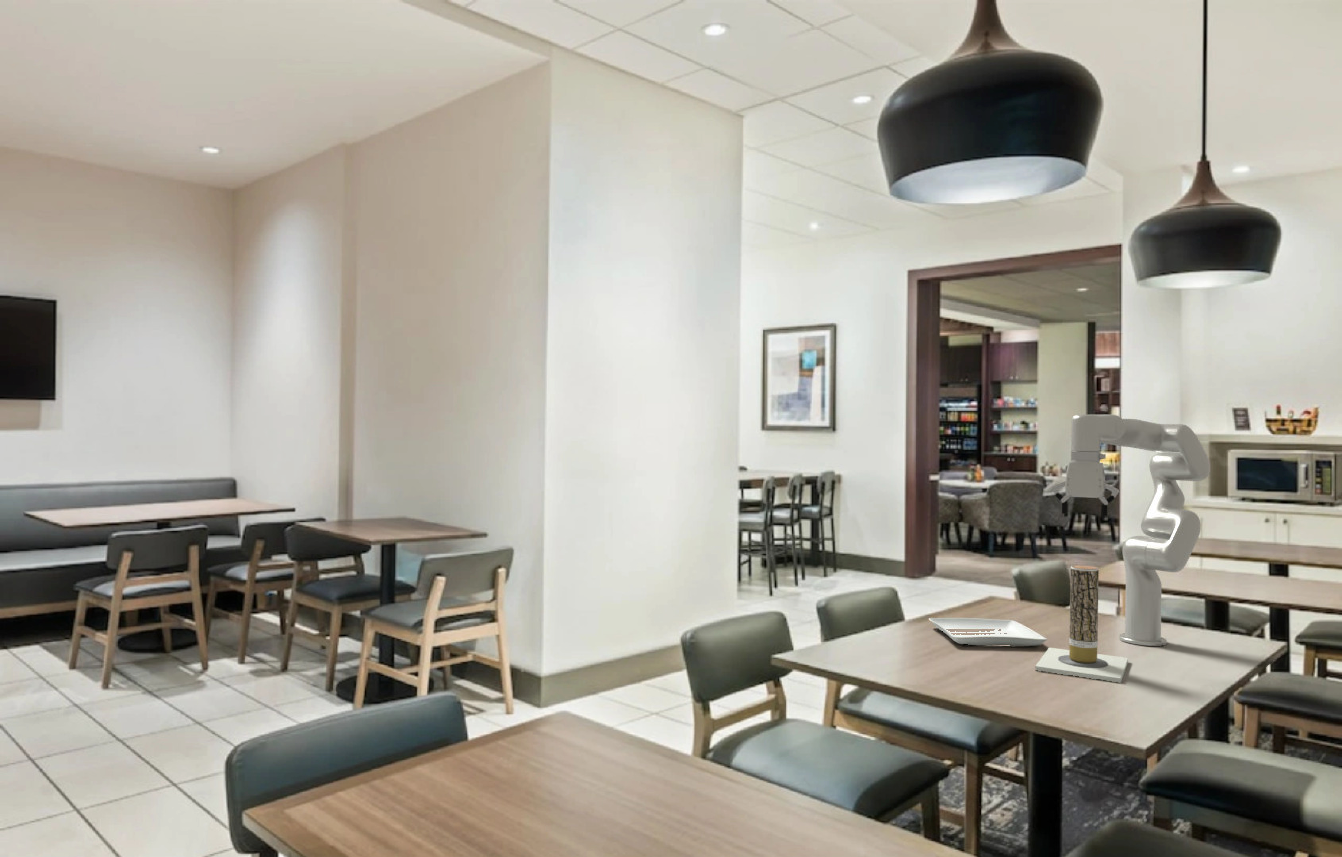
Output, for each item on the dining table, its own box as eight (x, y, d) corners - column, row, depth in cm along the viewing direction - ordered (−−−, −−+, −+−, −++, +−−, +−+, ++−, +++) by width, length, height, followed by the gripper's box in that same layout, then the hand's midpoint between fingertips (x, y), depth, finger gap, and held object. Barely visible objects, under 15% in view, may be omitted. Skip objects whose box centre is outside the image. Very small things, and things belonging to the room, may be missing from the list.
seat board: (1049, 651, 251) (1049, 646, 251) (1127, 662, 241) (1128, 656, 241) (1035, 670, 230) (1035, 665, 230) (1120, 683, 220) (1121, 677, 220)
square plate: (1048, 651, 253) (1048, 637, 253) (952, 649, 253) (953, 636, 253) (1013, 630, 280) (1013, 617, 280) (927, 628, 281) (927, 616, 281)
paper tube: (1100, 664, 232) (1101, 569, 232) (1072, 663, 233) (1074, 568, 233) (1093, 658, 238) (1094, 566, 238) (1066, 656, 240) (1067, 564, 240)
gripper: (1120, 458, 251) (1119, 518, 251) (1054, 456, 260) (1053, 514, 260) (1118, 458, 244) (1117, 520, 244) (1050, 457, 253) (1049, 516, 253)
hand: (1084, 517), depth 252 cm, fingers open, 9 cm apart
